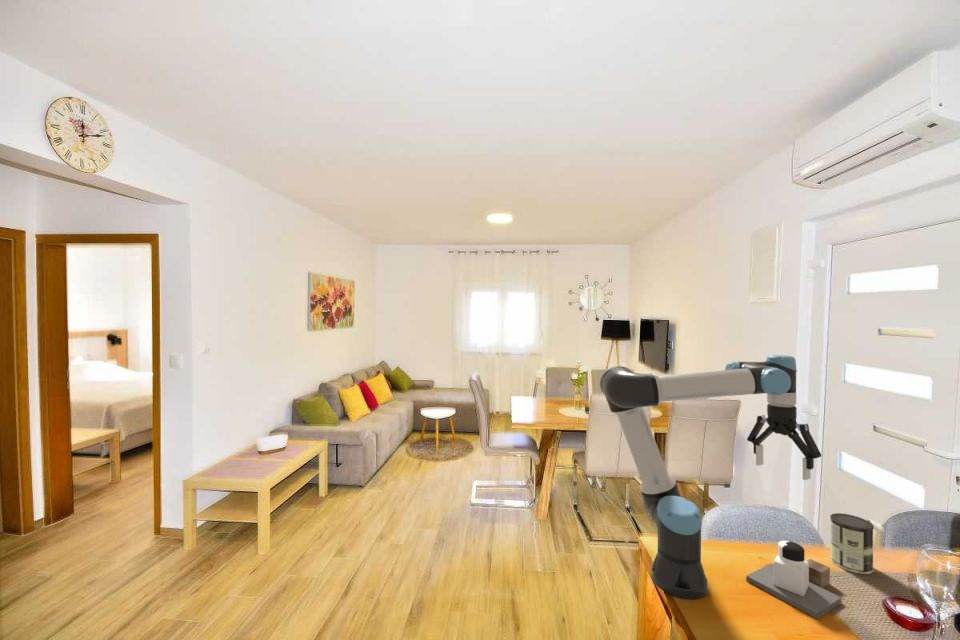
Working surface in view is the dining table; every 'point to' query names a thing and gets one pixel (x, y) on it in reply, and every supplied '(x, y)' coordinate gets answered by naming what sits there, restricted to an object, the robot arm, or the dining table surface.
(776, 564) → the medicine bottle
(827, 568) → the walnut block
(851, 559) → the coffee can
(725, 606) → the dining table surface
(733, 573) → the dining table surface
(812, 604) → the charcoal serving board
